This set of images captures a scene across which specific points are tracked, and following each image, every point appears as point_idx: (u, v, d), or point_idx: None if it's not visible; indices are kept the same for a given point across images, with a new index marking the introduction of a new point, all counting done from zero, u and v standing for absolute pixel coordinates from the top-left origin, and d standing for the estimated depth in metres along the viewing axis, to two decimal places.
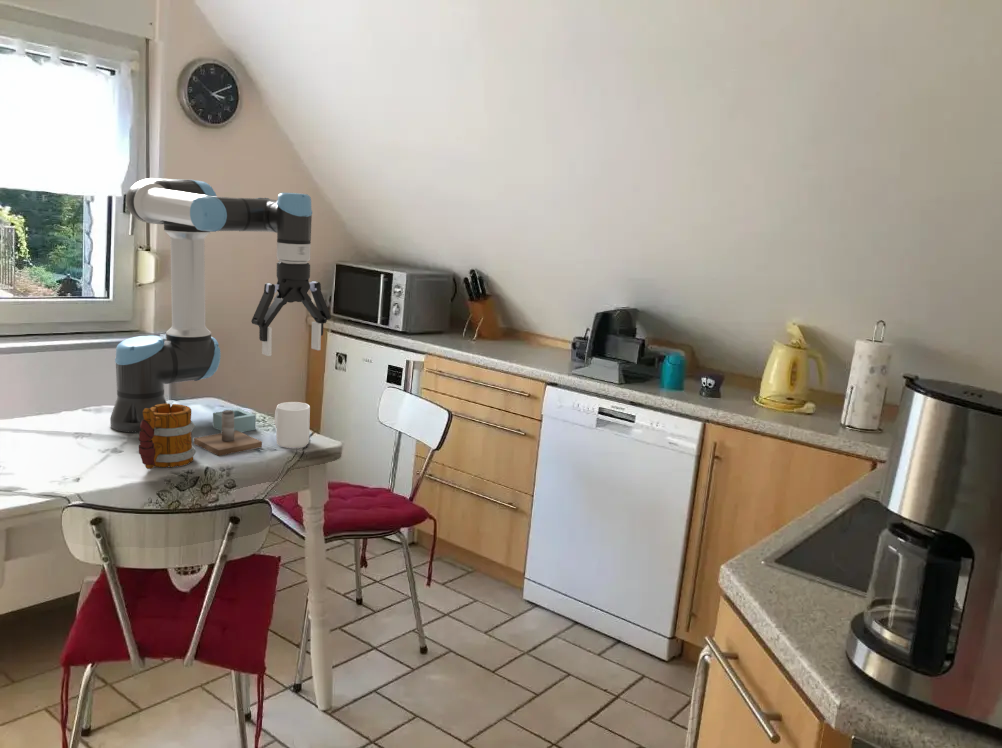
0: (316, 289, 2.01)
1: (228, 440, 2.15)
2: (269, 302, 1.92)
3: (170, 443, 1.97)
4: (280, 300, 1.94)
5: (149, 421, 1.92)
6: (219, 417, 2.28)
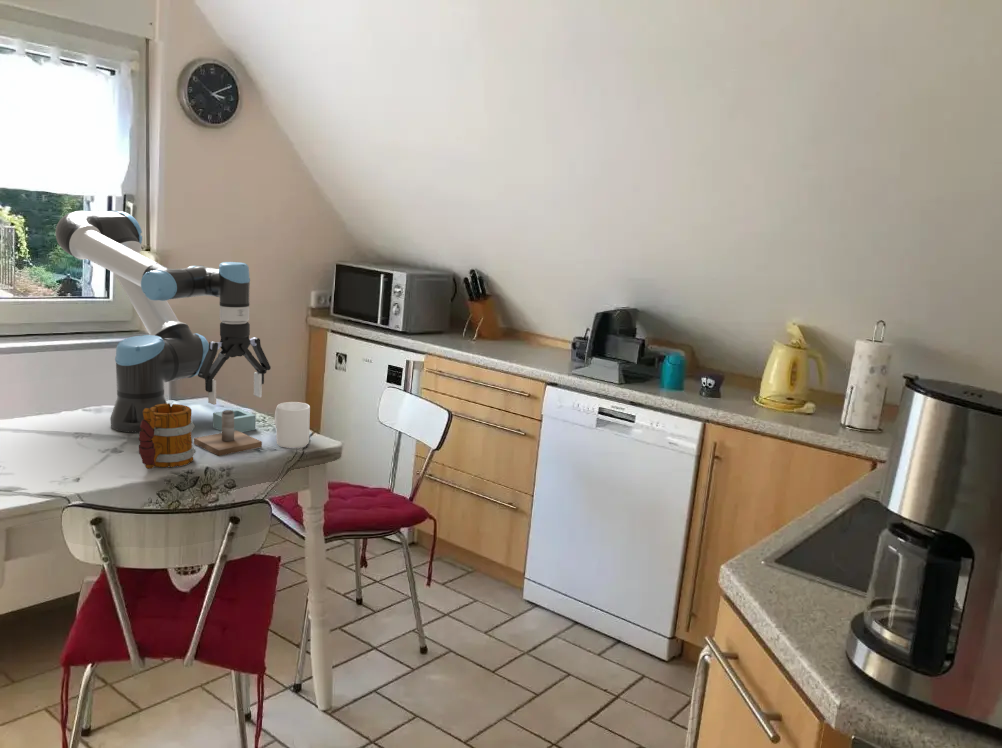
0: (256, 344, 2.29)
1: (228, 440, 2.15)
2: (213, 358, 2.20)
3: (170, 443, 1.97)
4: (223, 356, 2.23)
5: (149, 421, 1.92)
6: (219, 417, 2.28)
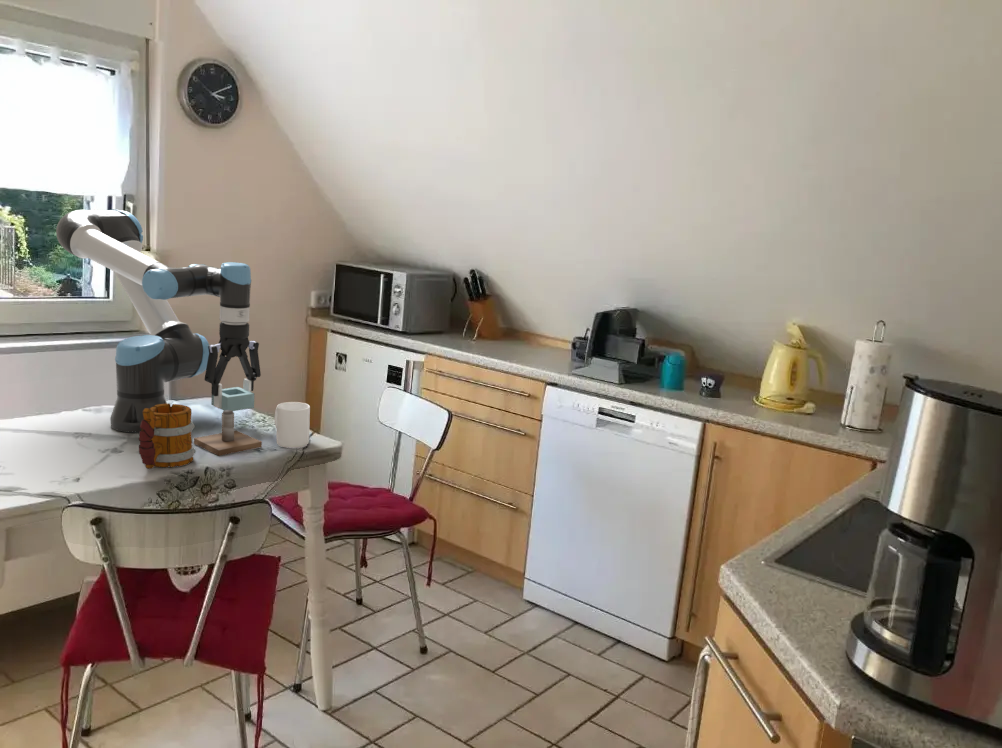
0: (254, 348, 2.30)
1: (228, 440, 2.15)
2: (215, 361, 2.22)
3: (170, 443, 1.97)
4: (224, 358, 2.24)
5: (149, 421, 1.92)
6: None
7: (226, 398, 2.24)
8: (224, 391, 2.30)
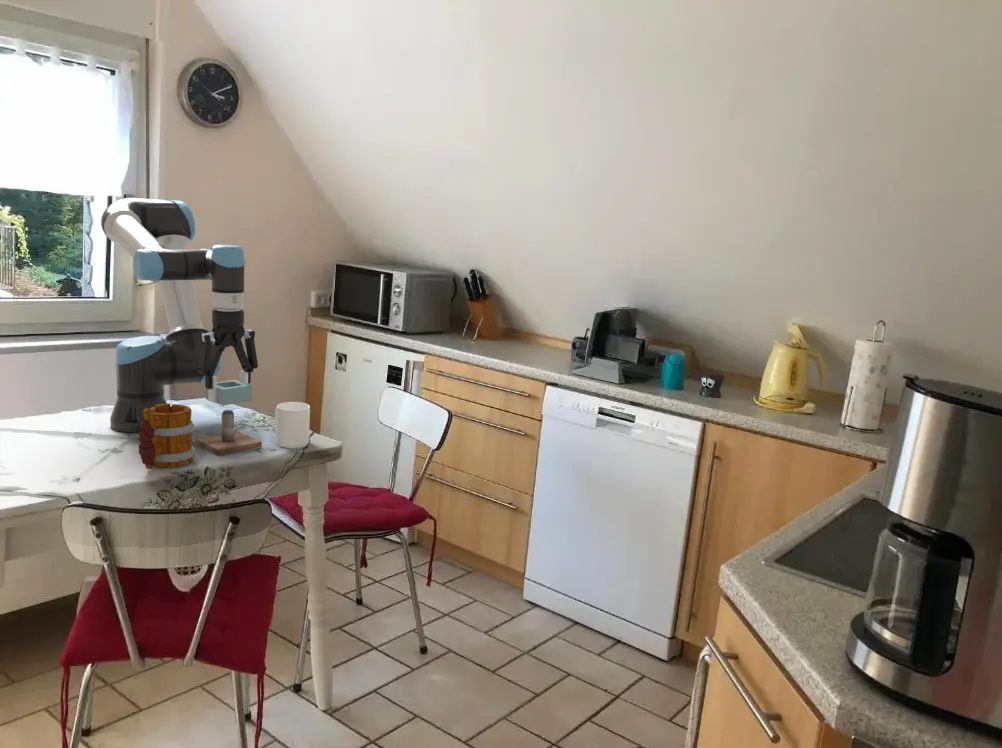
0: (250, 336, 2.14)
1: (228, 440, 2.15)
2: (208, 351, 2.06)
3: (170, 443, 1.97)
4: (218, 348, 2.08)
5: (149, 421, 1.92)
6: None
7: (221, 390, 2.08)
8: (219, 384, 2.14)
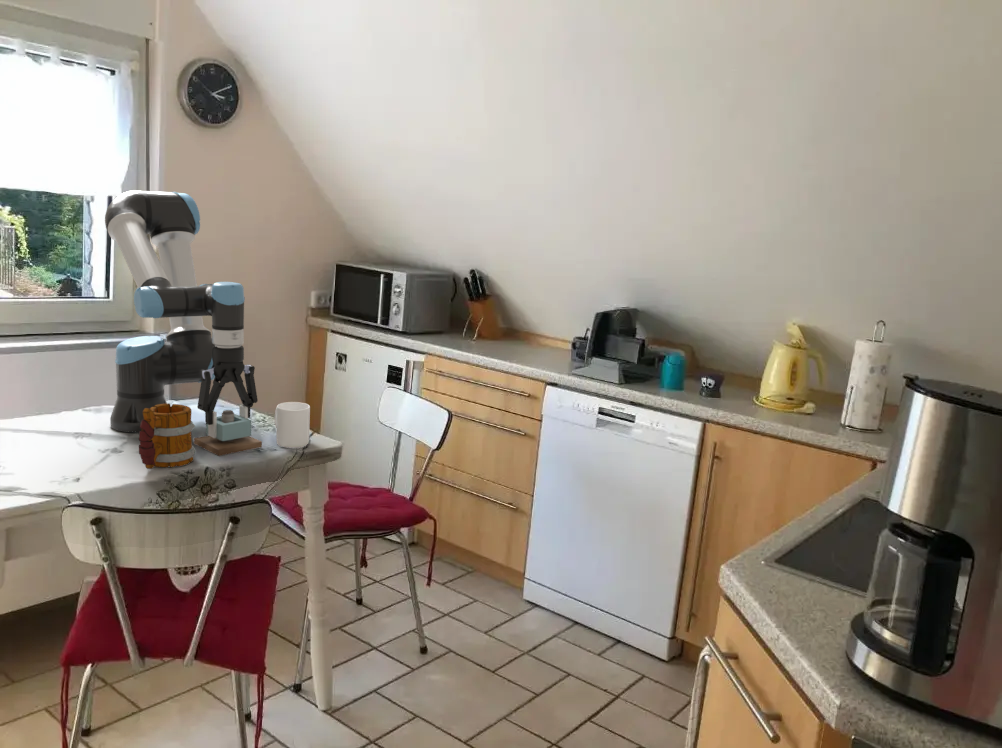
0: (249, 372, 2.16)
1: (228, 440, 2.15)
2: (208, 388, 2.08)
3: (170, 443, 1.97)
4: (218, 384, 2.10)
5: (149, 421, 1.92)
6: None
7: (221, 426, 2.10)
8: (219, 419, 2.16)
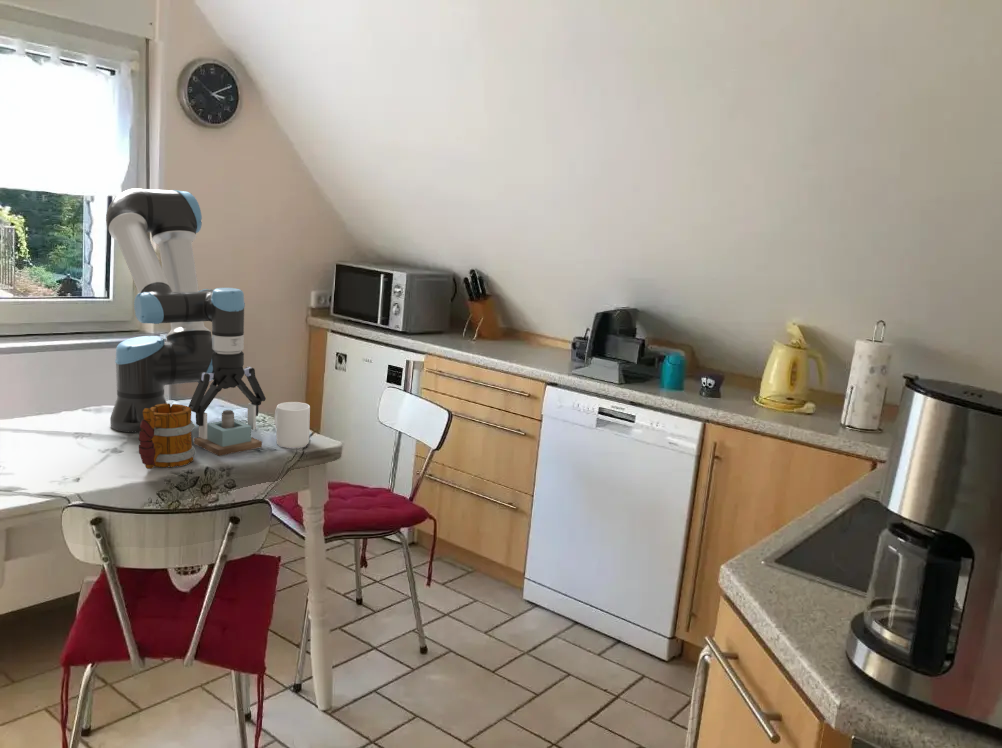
0: (250, 374, 2.16)
1: None
2: (204, 390, 2.07)
3: (170, 443, 1.97)
4: (215, 387, 2.10)
5: (149, 421, 1.92)
6: (212, 428, 2.13)
7: (221, 432, 2.10)
8: (219, 424, 2.16)
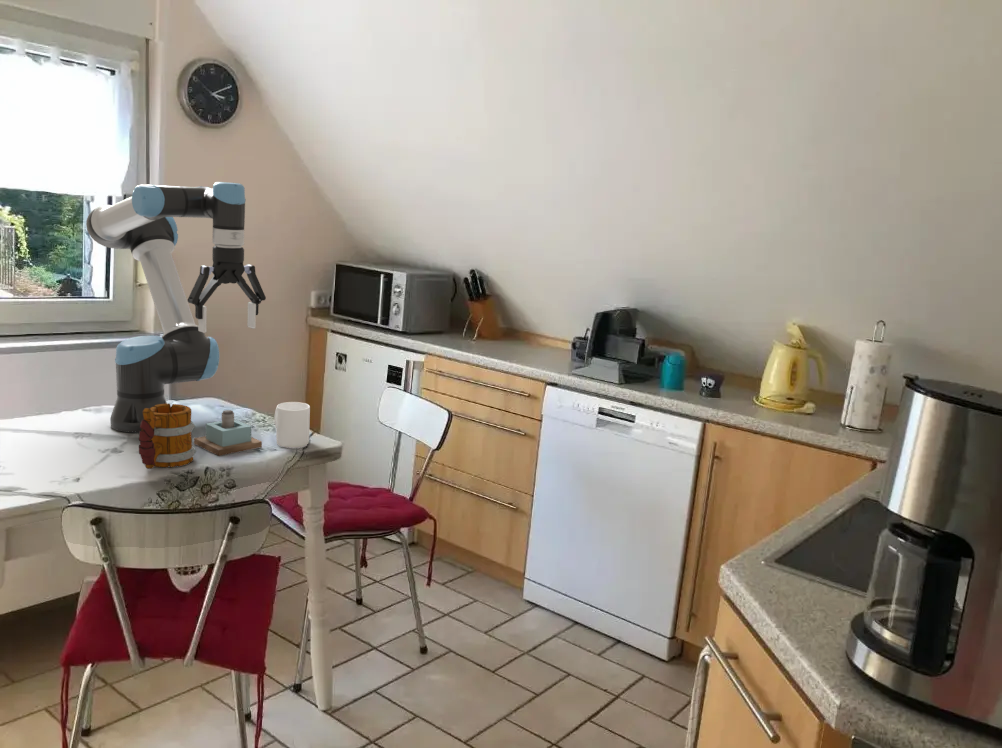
0: (251, 272, 2.17)
1: None
2: (204, 283, 2.08)
3: (170, 443, 1.97)
4: (215, 281, 2.11)
5: (149, 421, 1.92)
6: (212, 428, 2.13)
7: (221, 432, 2.10)
8: (219, 424, 2.16)
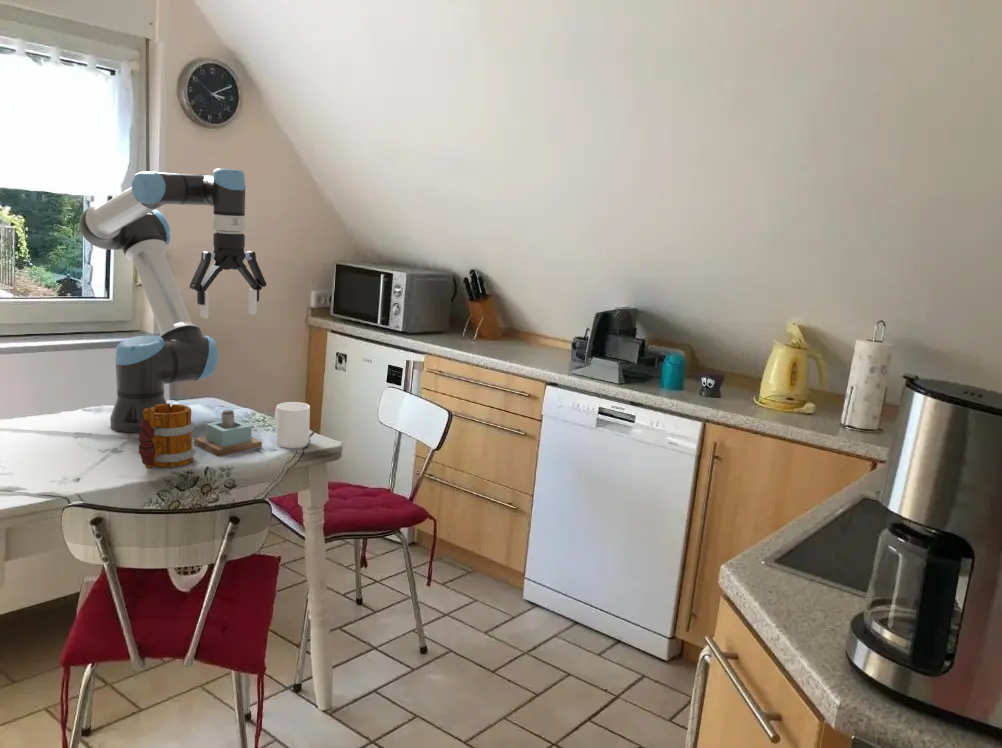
0: (251, 258, 2.19)
1: None
2: (205, 269, 2.10)
3: (170, 443, 1.97)
4: (216, 267, 2.12)
5: (149, 421, 1.92)
6: (212, 428, 2.13)
7: (221, 432, 2.10)
8: (219, 424, 2.16)
